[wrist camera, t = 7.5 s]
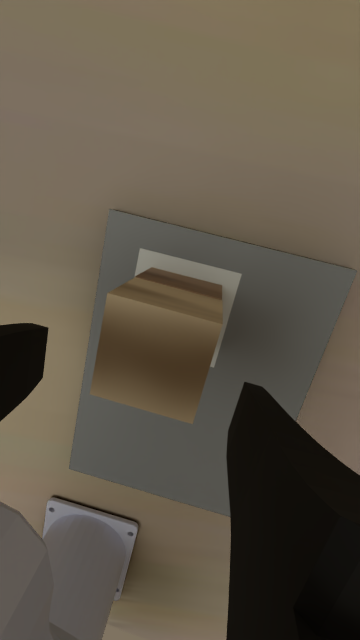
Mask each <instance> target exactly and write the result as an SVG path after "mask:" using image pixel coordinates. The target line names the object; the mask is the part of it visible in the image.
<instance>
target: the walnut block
mask: <svg viewBox="0 0 360 640" xmlns="http://www.w3.org/2000/svg"><path fill="white" fill-rule="evenodd" d="M135 277H136V278H140V279H143V280H147V281H151V282H155V283H158V284H162V285H166V286H170V287H173V288H177V289H181V290H185V291H188V292H192V293H196V294H199V295H203V296H207V297H211V298H214V299H218V300H222V285H219V284H215V283H211V282H208V281H204V280H200V279H196V278H192V277H188V276H184V275H180V274H176V273H173V272H169V271H165V270H161V269H157V268H153V267H151V268H149V269H147V270H146V271H144V272H142V273H140V274H138V275H137V276H135ZM135 277H134V278H135Z"/></svg>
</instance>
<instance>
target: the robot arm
mask: <svg viewBox="0 0 360 640" xmlns="http://www.w3.org/2000/svg"><path fill="white" fill-rule="evenodd" d="M47 335H48V328H47V327H44V326H40V325H36V324H33V323H19V324H8V325H0V421H1V420H2V419H3V418H5V417H6V416H7V415H8V414H9V413H10V412H11V411H12V410H13V409H15V408H16V407H17V406H18V405H19V404H20V403H21V402H22V401H23V400H24V399H25V398H26V397H27V396H28V395H29V394H30V393H31V392H32V390H33V389H34V388H35V387H36V386H37V384H38V383H39V382H40V381H41V379H42V378H43V371H44V362H45V353H46V344H47ZM226 459H227V475H228V489H229V503H230V517H231V554H230V582H229V604H228V623H227V639H226V640H360V475H358V474H357V473H355V472H354V471H352V470H351V469H350V468H348V467H347V466H346V465H344V464H343V463H342V462H340V461H339V460H338V459H337V458H336V457H334V456H333V455H332V454H331V453H329V452H328V451H327V450H326V449H324V448H323V447H322V446H321V445H320V444H319V443H318V442H316V441H315V440H314V439H313V438H312V437H311V436H310V435H309V434H308V433H307V432H306V431H305V430H304V429H303V428H301V427H300V426H299V425H298V424H297V422H296V421H295V420H294V419H293V418H292V417H291V416H290V415H289V414H288V413H287V412H286V411H285V410H284V409H283V408H282V407H281V406H280V404H279V403H278V402H277V401H276V400H275V399H274V398H273V397H272V396H271V395H270V394H269V393H268V391H267V390H265V389H264V388H263V387H262V386H259V385H255V384H252V383H248V382H244V384H243V387H242V390H241V393H240V396H239V399H238V402H237V405H236V408H235V411H234V414H233V417H232V420H231V423H230V426H229V429H228V437H227V453H226ZM137 531H138V524H137V523H136V522H134V521H130V520H127V519H124V518H121V517H117V516H114V515H111V514H107V513H104V512H101V511H98V510H94V509H91V508H88V507H84V506H81V505H78V504H75V503H71V502H68V501H65V500H61V499H58V498H54V497H52V498H50V499H49V500H48V502H47V507H46V515H45V522H44V530H43V537H42V538H41V537H40V536H39V535H38V533H37V532H36V531H35V530H34V529H33V527H32V526H31V525H30V524H29V523H28V521H27V520H26V519H25V518H24V517H23V516H22V514H21V513H20V512H19V511H17V510H15V509H13V508H11V507H9V506H7V505H6V504H4V503H2V502H0V640H102V637H103V634H104V630H105V627H106V623H107V620H108V617H109V613H110V610H111V606H112V603H113V600H115V601H117V600H119V599H120V596H121V593H122V589H123V585H124V581H125V577H126V573H127V569H128V566H129V562H130V558H131V554H132V550H133V546H134V543H135V539H136V535H137Z"/></svg>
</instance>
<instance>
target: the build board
mask: <svg viewBox="0 0 360 640" xmlns="http://www.w3.org/2000/svg"><path fill="white" fill-rule="evenodd" d="M151 267H153V268H157V269H161V270H165V271H169V272H173V273H176V274H180V275H184V276H188V277H192V278H196V279H200V280H204V281H208V282H211V283H215V284H219V285H222V301H223V325H222V328H221V332H220V335H219V338H218V342H217V345H216V348H215V351H214V355H213V358H212V361H211V365H210V368H209V371H208V375H207V378H206V381H205V385H204V388H203V391H202V395H201V398H200V401H199V405H198V408H197V411H196V415H195V418H194V421H193V424H190V423H187V422H183V421H180V420H176V419H173V418H169V417H166V416H163V415H159V414H156V413H152V412H149V411H145V410H142V409H138V408H135V407H132V406H128V405H125V404H121V403H118V402H114V401H111V400H108V399H104V398H101V397H97V396H94V395H90V389H91V384H92V378H93V372H94V367H95V361H96V355H97V349H98V344H99V338H100V332H101V327H102V321H103V315H104V309H105V304H106V298H107V293H108V292H110V291H112V290H114V289H115V288H117V287H119V286H121V285H122V284H124V283H126V282H128V281H129V280H131V279H133V278H134V277H135V276H137V275H138V274H140V273H142V272H144V271H146V270H147V269H149V268H151ZM356 272H357V270H354V269H350V268H346V267H342V266H338V265H334V264H330V263H326V262H322V261H318V260H314V259H310V258H306V257H302V256H298V255H294V254H290V253H286V252H282V251H278V250H274V249H270V248H265V247H261V246H257V245H253V244H249V243H245V242H241V241H237V240H233V239H229V238H225V237H221V236H217V235H213V234H209V233H205V232H201V231H197V230H193V229H189V228H185V227H181V226H177V225H173V224H169V223H165V222H161V221H157V220H153V219H149V218H145V217H141V216H137V215H133V214H129V213H125V212H121V211H117V210H112V209H109V215H108V221H107V228H106V234H105V241H104V247H103V253H102V260H101V266H100V273H99V279H98V286H97V292H96V298H95V305H94V311H93V318H92V324H91V330H90V337H89V343H88V350H87V356H86V362H85V369H84V375H83V382H82V388H81V395H80V401H79V407H78V414H77V420H76V427H75V433H74V439H73V446H72V452H71V459H70V465H69V469H71V470H74V471H78V472H81V473H84V474H88V475H91V476H94V477H98V478H101V479H105V480H108V481H111V482H115V483H118V484H121V485H125V486H128V487H131V488H135V489H138V490H141V491H145V492H148V493H151V494H155V495H158V496H162V497H165V498H168V499H172V500H175V501H178V502H182V503H185V504H188V505H192V506H195V507H198V508H202V509H205V510H209V511H212V512H215V513H219V514H222V515H225V516H229V517H230V503H229V489H228V475H227V459H226V453H227V437H228V429H229V426H230V423H231V420H232V417H233V414H234V411H235V408H236V405H237V402H238V399H239V396H240V393H241V390H242V387H243V384H244V382H248V383H252V384H255V385H259V386H262V387H263V388H264V389H265V390H267V391H268V393H269V394H270V395H271V396H272V397H273V398H274V399H275V400H276V401H277V402H278V403H279V404H280V406H281V407H282V408H283V409H284V410H285V411H286V412H287V413H288V414H289V415H290V416H291V417H292V418H293V419H294V420H295V421H296V419H297V417H298V414H299V412H300V409H301V407H302V404H303V402H304V399H305V397H306V395H307V392H308V390H309V387H310V385H311V382H312V380H313V377H314V375H315V373H316V370H317V368H318V365H319V363H320V360H321V358H322V355H323V353H324V351H325V348H326V346H327V343H328V341H329V338H330V336H331V333H332V331H333V329H334V326H335V324H336V321H337V319H338V316H339V314H340V311H341V309H342V307H343V304H344V302H345V299H346V297H347V294H348V292H349V289H350V287H351V285H352V282H353V280H354V277H355V275H356Z"/></svg>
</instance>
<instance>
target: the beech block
mask: <svg viewBox="0 0 360 640" xmlns="http://www.w3.org/2000/svg"><path fill="white" fill-rule="evenodd" d="M222 325H223V301H222V300H218V299H214V298H211V297H207V296H203V295H199V294H196V293H192V292H188V291H185V290H181V289H177V288H173V287H170V286H166V285H162V284H158V283H155V282H151V281H147V280H143V279H140V278H136V277H135V278H133V279H131V280H129V281H128V282H126V283H124V284H122V285H121V286H119V287H117V288H115V289H114V290H112V291H110V292H108V293H107V298H106V304H105V309H104V315H103V321H102V327H101V332H100V338H99V344H98V349H97V355H96V361H95V367H94V372H93V378H92V384H91V389H90V395H94V396H97V397H101V398H104V399H108V400H111V401H114V402H118V403H121V404H125V405H128V406H132V407H135V408H138V409H142V410H145V411H149V412H152V413H156V414H159V415H163V416H166V417H169V418H173V419H176V420H180V421H183V422H187V423H190V424H193V421H194V418H195V415H196V411H197V408H198V405H199V401H200V398H201V395H202V391H203V388H204V385H205V381H206V378H207V375H208V371H209V368H210V365H211V361H212V358H213V355H214V351H215V348H216V345H217V342H218V338H219V335H220V332H221V328H222Z"/></svg>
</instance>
